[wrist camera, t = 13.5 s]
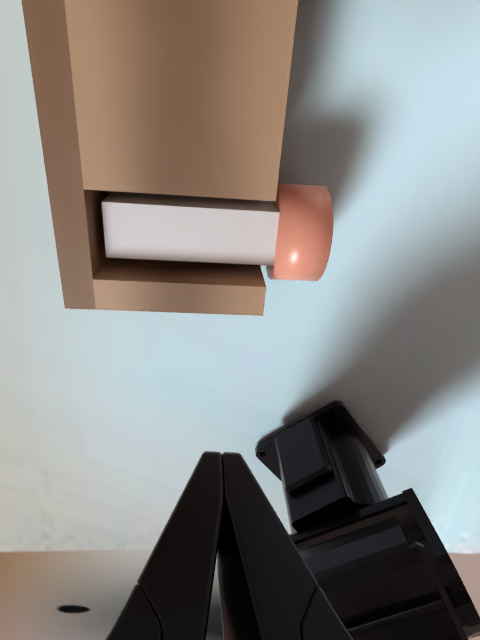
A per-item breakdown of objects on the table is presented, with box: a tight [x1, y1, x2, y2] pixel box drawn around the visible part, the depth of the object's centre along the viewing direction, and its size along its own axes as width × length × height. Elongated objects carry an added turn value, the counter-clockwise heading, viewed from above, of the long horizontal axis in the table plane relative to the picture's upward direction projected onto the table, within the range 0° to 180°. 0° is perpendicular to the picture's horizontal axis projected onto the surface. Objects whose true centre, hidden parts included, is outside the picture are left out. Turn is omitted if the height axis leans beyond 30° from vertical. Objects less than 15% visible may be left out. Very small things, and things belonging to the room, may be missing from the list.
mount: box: [22, 0, 298, 316], centre depth 15 cm, size 8×17×4 cm, turn 176°
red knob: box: [102, 183, 333, 281], centre depth 17 cm, size 9×4×4 cm, turn 86°
